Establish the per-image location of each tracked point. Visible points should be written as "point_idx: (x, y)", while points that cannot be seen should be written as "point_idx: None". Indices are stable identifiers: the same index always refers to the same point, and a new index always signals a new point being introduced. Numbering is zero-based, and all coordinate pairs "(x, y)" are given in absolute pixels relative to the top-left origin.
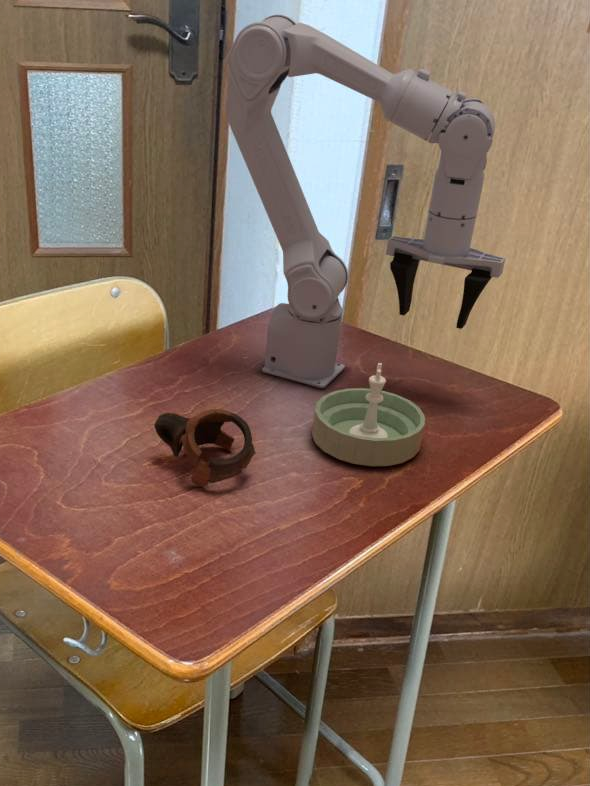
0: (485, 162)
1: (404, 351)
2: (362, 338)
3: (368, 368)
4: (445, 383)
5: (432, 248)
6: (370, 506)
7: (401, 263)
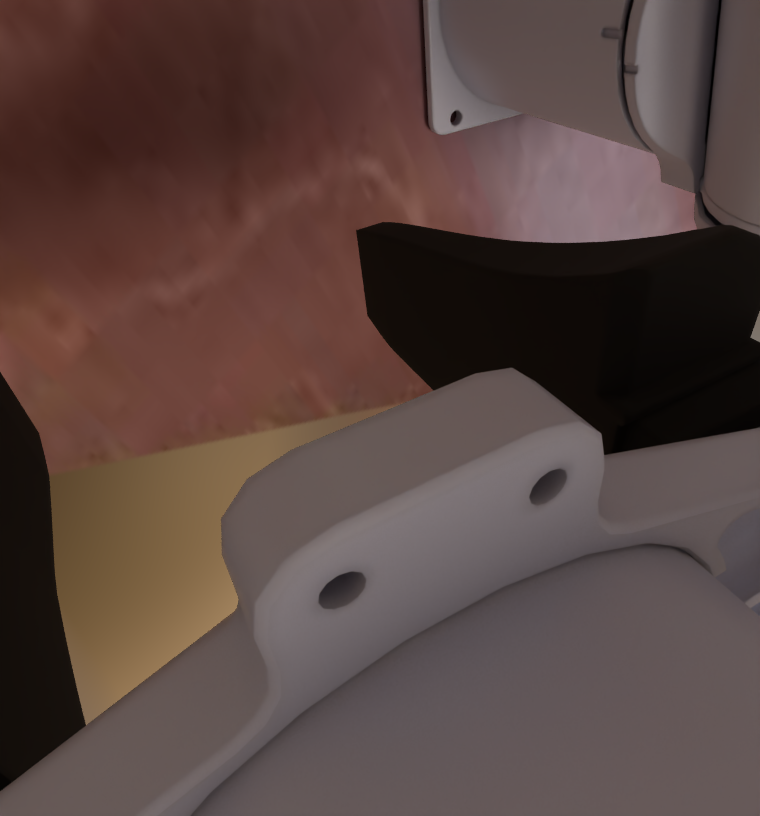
0: None
1: (344, 397)
2: None
3: (369, 206)
4: (104, 331)
5: (649, 634)
6: None
7: (687, 331)
